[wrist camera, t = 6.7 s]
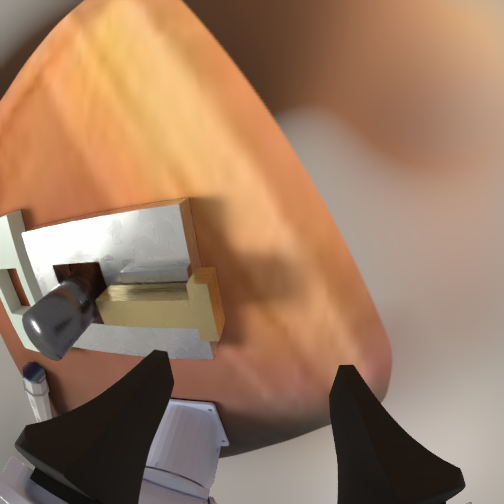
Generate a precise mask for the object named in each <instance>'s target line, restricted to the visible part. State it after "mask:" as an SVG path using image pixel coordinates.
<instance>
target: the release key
mask: <svg viewBox="0 0 504 504" xmlns="http://www.w3.org/2000/svg"><path fill="white" fill-rule="evenodd" d="M95 302H96V304H97V307H98V309H99V312H100V314H101V317H102V319H103V322H104V324H105V325H109V326H125V327H146V328H186V329H197V330H198V333H199V337H200V341H220V338H221V334H222V331H223V327H224V324H225V316H224V311H223V306H222V301H221V295H220V290H219V285H218V280H217V274H216V269H215V267H200V268H196V269H195V271H194V272H193V274H192V276H191V277H190V279H189V280H188V282H187V283H168V284H140V285H110V286H109V287H108V288H107V289H106V290H105V291H104V292H103V293H102V294H101V295H100V296H99V297H98V298H97V299H96V300H95Z"/></svg>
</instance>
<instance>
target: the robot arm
mask: <svg viewBox="0 0 504 504" xmlns="http://www.w3.org/2000/svg"><path fill="white" fill-rule="evenodd" d="M173 386H174V379H173V375H172V371H171V366H170V361H169V357H168V352H167V351H161V350H155V349H154V350H153V351H152V352H151V353H150V354H149V355H147V356H146V357H145V358H144V359H143V360H142V361H141V362H140V363H139V364H138V365H136V366H135V367H134V368H133V369H132V370H131V371H130V372H128V373H127V374H126V375H125V376H124V377H123V378H121V379H120V380H119V381H118V382H116V383H115V384H114V385H112V386H111V387H110V388H108V389H107V390H106V391H104V392H103V393H102V394H100V395H99V396H97V397H96V398H94V399H92V400H91V401H89V402H87V403H86V404H84V405H82V406H80V407H78V408H76V409H74V410H72V411H70V412H68V413H65V414H63V415H60V416H58V417H55V418H52V419H49V420H46V421H42V422H38V423H35V424H30V425H27V426H26V427H25V428H24V430H23V431H22V433H21V435H20V436H19V438H18V439H17V441H16V442H15V448H16V449H17V450H18V451H19V452H20V453H21V454H22V455H23V456H24V457H25V458H26V459H27V460H28V461H29V462H31V463H32V464H33V465H34V466H35V467H36V468H35V469H34V471H33V470H32V469H30V468H29V467H28V466H26V465H25V464H23V463H22V462H21V461H19V460H18V459H17V458H15V457H14V456H11V457H10V459H9V460H8V462H7V464H6V466H5V467H4V469H3V471H2V473H1V474H0V497H1V498H2V499H3V500H4V501H5V502H6V503H7V504H217V503H216V502H215V500H214V498H213V497H209V491H210V487H211V486H212V484H213V482H214V478H215V473H216V469H217V463H218V459H219V453H220V448H221V446H229V441H228V438H227V436H226V433H225V431H224V428H223V426H222V423H221V420H220V418H219V415H218V412H217V410H216V407H215V405H214V404H213V403H211V402H198V401H186V400H176V399H170V397H171V393H172V390H173ZM329 403H330V418H331V424H332V429H333V436H334V442H335V448H336V454H337V462H338V503H337V504H446V501H447V500H449V499H450V498H452V497H453V496H455V495H456V494H458V493H459V492H461V491H462V490H463V489H464V488H465V482H464V478H463V475H462V472H461V470H460V468H458V467H456V466H454V465H452V464H450V463H448V462H446V461H444V460H443V459H441V458H439V457H438V456H436V455H434V454H433V453H432V452H430V451H429V450H427V449H426V448H425V447H423V446H422V445H421V444H420V443H418V442H417V441H416V440H414V439H413V438H412V437H411V436H410V435H409V434H407V432H406V431H405V430H404V429H403V428H402V427H401V426H400V425H399V424H398V423H397V422H396V421H395V420H394V419H393V418H392V417H391V416H390V414H389V413H388V412H387V411H386V410H385V408H384V407H383V406H382V405H381V403H380V402H379V401H378V399H377V398H376V397H375V395H374V394H373V393H372V391H371V390H370V388H369V387H368V386H367V384H366V383H365V381H364V380H363V378H362V377H361V375H360V374H359V372H358V371H357V369H356V368H355V366H354V365H339V368H338V371H337V374H336V377H335V380H334V383H333V386H332V389H331V392H330V395H329ZM467 504H472V503H471V502H470V503H467Z"/></svg>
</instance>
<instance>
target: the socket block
mask: <svg viewBox="0 0 504 504" xmlns="http://www.w3.org/2000/svg"><path fill="white" fill-rule="evenodd" d="M22 236H23V239H24V243H25V246H26V249H27V253H28V256H29V259H30V262H31V265H32V268H33V271H34V274H35V276H36V279H37V282H38V284H39V287H40V289H41V292H42V294H43V297H44V296H45V295H46V294H47V293H49V292H50V291H51V290H52V289H53V288H55V287H56V286H57V285H58V284H60V283H61V282H62V281H63V280H65V279H66V278H67V277H69V276H70V275H71V271H70V268H69V265H68V264H72V263H85V262H97V261H99V264H100V267H101V270H102V273H103V277H104V280H105V283H106V286H107V288H108V287H109V286H110V285H140V284H168V283H187V282H188V280H189V279H190V277H191V276H192V274H193V272H194V271H195V269H196V268H200V267H202V266H201V261H200V256H199V251H198V246H197V240H196V235H195V230H194V224H193V218H192V213H191V207H190V201H189V197H188V198H181V199H174V200H167V201H161V202H154V203H148V204H142V205H136V206H130V207H125V208H119V209H114V210H108V211H103V212H98V213H93V214H88V215H83V216H78V217H74V218H69V219H64V220H60V221H56V222H51V223H47V224H43V225H39V226H35V227H33V228H31V229H29V230H27V231H25V232H23V233H22ZM218 344H219V343H218V341H200V337H199V333H198V330H197V329H186V328H146V327H125V326H109V325H105V324H104V322H103V319H102V317H101V314H100V315H99V316H98V317H97V318H96V319H95V320H94V321H93V322H92V324H91V325H90V326H89V327H88V328H87V329H86V330H85V332H84V333H83V334H82V335H81V336H80V337H79V339H78V340H77V341H76V342H75V343H74V344H73V346H72V347H77V348H83V349H89V350H96V351H103V352H110V353H118V354H127V355H137V356H147V355H149V354H150V353H151V352H152V351H153V350H154V349H155V350H161V351H167V352H168V357H169V358H175V359H197V360H214V358H215V355H216V351H217V348H218Z"/></svg>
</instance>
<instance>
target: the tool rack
mask: <svg viewBox="0 0 504 504" xmlns="http://www.w3.org/2000/svg"><path fill="white" fill-rule="evenodd" d="M25 231H26V230H25V226H24V222H23V218H22V214H21V209H20V210H17V211H14V212H12V213H9V214H6V215H4V216H1V217H0V298H1V300H2V302H3V304H4V307H5V309H6V311H7V313H8V315H9V318H10V320H11V322H12V324H13V326H14V328H15V330H16V332H17V334H18V335H19V337H20V339H21V341H22V343H23V345H24V346H25V348H27V349H30V350H34V351H38V352H40V351H39V350H38V349H37V348H36V347H35V346H34V345H33V344H32V342H31V341H30V340H29V338H28V336H27V334H26V332H25V330H24V328H23V324H22V316H23V314H24V313H25V312H26V311H27V310H29V309H30V308H31V307H32V306H33V305H34V304H36V303H37V302H38V301H39V300H40V299H41V298H43V294H42V292H41V289H40V287H39V284H38V282H37V279H36V276H35V274H34V271H33V268H32V265H31V262H30V259H29V256H28V253H27V249H26V246H25V243H24V239H23V236H22V233H23V232H25ZM10 268H16V270H17V273H18V276H19V278H20V281H21V284H22V286H23V289H24V291H25V294H26V296H27V298H28V301H29V303H30V305H31V306H22V305H21V303H20V301H19V299H18V296H17V294H16V291H15V289H14V286H13V284H12V281H11V279H10V276H9V273H8V270H7V269H10ZM69 350H70V349H69ZM69 350H68V351H69ZM64 356H65V355H64ZM64 356H63V357H64Z"/></svg>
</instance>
